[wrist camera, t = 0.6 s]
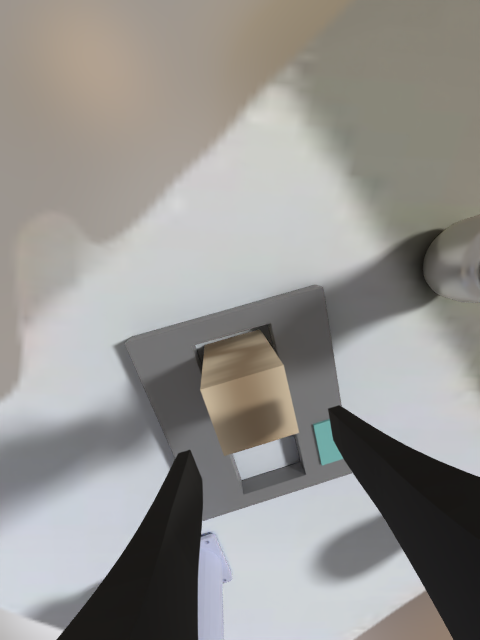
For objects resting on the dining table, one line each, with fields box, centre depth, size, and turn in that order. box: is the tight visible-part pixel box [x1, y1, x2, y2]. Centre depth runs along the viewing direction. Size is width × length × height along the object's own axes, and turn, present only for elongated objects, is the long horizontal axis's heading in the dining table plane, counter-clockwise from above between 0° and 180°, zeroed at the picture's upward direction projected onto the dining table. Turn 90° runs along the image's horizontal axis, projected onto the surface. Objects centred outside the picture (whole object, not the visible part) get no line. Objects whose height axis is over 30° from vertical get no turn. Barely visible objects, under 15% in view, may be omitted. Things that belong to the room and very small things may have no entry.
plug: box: [200, 329, 299, 456], centre depth 17 cm, size 5×5×7 cm
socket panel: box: [124, 285, 352, 521], centre depth 21 cm, size 16×20×2 cm
